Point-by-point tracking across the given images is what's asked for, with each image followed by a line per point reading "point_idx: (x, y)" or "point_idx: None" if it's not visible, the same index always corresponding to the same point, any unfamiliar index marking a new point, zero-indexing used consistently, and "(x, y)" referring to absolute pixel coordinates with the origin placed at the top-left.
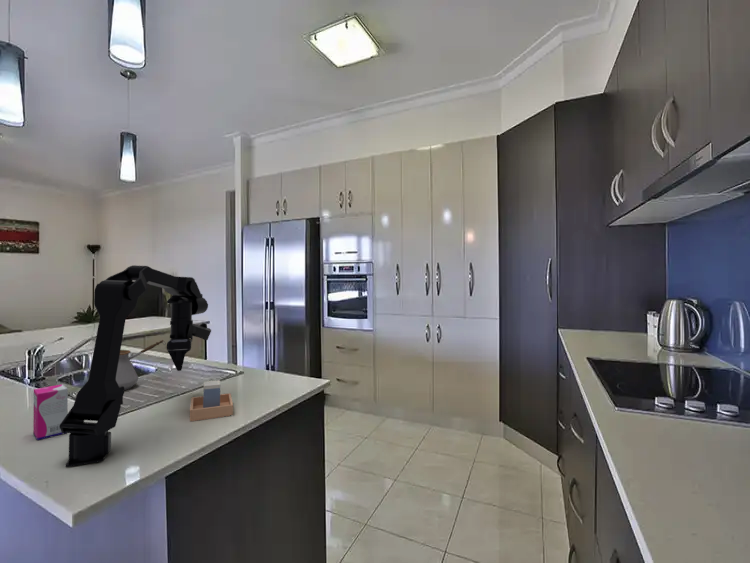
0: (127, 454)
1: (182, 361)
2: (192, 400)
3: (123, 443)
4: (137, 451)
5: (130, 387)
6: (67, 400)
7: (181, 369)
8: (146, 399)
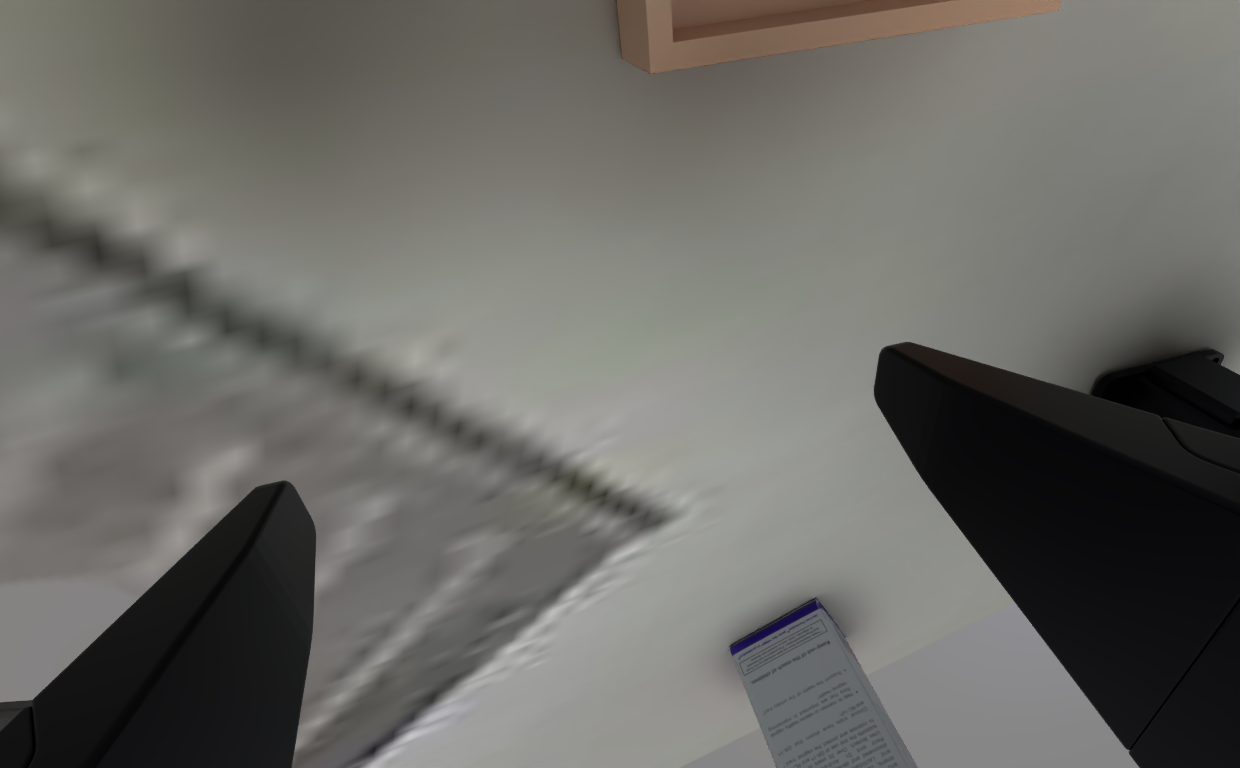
0: (1216, 275)
1: (1128, 422)
2: (764, 38)
3: (1075, 340)
4: (1219, 239)
5: (10, 705)
6: (901, 753)
7: (920, 347)
8: (330, 498)
